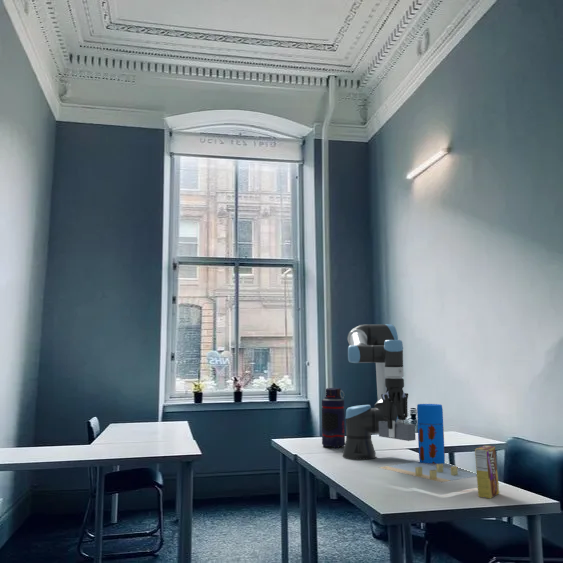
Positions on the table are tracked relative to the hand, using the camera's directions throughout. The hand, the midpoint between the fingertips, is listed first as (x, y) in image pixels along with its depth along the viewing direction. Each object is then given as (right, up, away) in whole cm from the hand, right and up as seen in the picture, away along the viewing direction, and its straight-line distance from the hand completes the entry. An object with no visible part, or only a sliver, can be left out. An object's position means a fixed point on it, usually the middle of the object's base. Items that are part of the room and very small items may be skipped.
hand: (396, 436), depth 209 cm
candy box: (+22, -8, -38) cm, 44 cm away
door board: (+12, -13, -4) cm, 18 cm away
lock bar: (0, 0, 0) cm, 1 cm away
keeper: (+13, -11, -12) cm, 21 cm away
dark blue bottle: (-18, -24, +63) cm, 70 cm away
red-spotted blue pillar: (+19, -17, +16) cm, 30 cm away
